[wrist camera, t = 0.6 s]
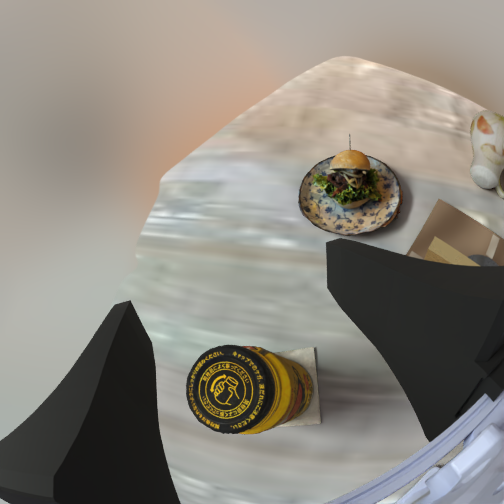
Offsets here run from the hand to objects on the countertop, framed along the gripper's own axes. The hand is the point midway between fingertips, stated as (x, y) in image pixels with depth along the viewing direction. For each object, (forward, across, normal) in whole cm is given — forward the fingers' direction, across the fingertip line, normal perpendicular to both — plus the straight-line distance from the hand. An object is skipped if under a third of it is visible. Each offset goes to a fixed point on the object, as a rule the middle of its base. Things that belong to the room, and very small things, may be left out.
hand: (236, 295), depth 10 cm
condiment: (+7, -2, +17) cm, 19 cm away
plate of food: (+18, -17, +5) cm, 25 cm away
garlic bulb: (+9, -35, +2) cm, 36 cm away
